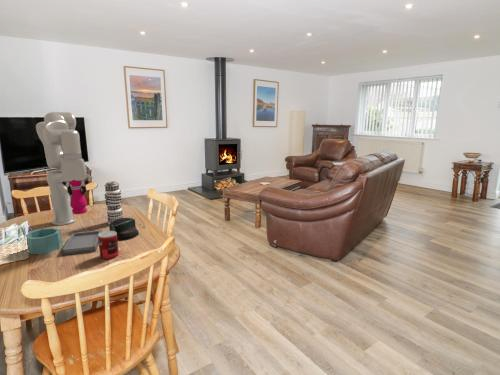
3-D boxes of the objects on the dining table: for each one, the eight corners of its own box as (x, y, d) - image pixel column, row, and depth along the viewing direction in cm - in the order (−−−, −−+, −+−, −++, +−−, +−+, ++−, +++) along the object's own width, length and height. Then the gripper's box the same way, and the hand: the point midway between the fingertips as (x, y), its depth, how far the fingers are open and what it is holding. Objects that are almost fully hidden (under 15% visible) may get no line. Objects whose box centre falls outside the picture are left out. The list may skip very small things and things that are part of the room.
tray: (73, 237, 162) (72, 233, 161) (102, 234, 166) (101, 230, 166) (62, 255, 142) (61, 250, 141) (95, 251, 146) (95, 246, 145)
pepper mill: (91, 211, 152) (86, 171, 148) (79, 215, 145) (73, 174, 141) (80, 209, 154) (75, 170, 150) (67, 213, 148) (62, 173, 143)
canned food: (104, 252, 145) (101, 230, 142) (121, 251, 146) (119, 230, 143) (97, 259, 137) (94, 237, 135) (115, 259, 138) (113, 236, 136)
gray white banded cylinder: (127, 221, 187) (123, 181, 181) (114, 226, 179) (110, 184, 173) (117, 218, 191) (113, 180, 186) (104, 223, 183) (99, 183, 178)
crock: (34, 244, 153) (31, 229, 151) (64, 241, 157) (62, 226, 155) (23, 256, 141) (20, 240, 139) (57, 252, 145) (54, 236, 143)
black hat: (135, 243, 156) (133, 226, 154) (96, 243, 156) (94, 226, 154) (147, 229, 176) (145, 213, 173) (112, 229, 175) (110, 213, 173)
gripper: (49, 158, 138) (55, 197, 142) (91, 157, 143) (95, 194, 147) (54, 156, 145) (59, 193, 149) (93, 155, 150) (98, 191, 154)
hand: (77, 193), depth 148 cm, fingers closed on pepper mill, 5 cm apart
